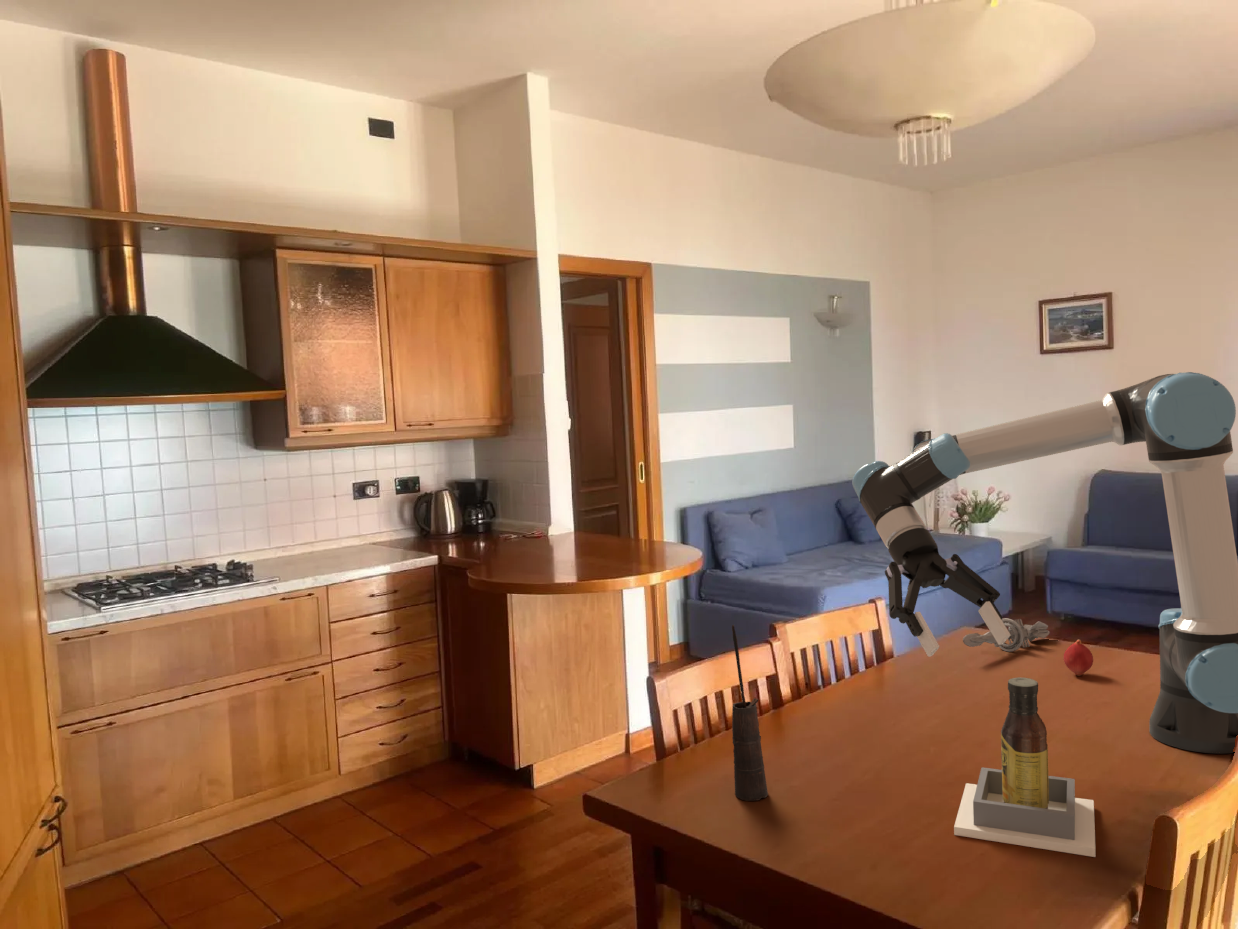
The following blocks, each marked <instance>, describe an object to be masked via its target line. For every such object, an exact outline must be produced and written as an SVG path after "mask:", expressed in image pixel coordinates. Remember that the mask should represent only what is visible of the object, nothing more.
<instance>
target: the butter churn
mask: <svg viewBox="0 0 1238 929" xmlns="http://www.w3.org/2000/svg"><path fill="white" fill-rule="evenodd" d="M735 629H736V627H735V624H732V625H731V631H732V639H733V641H732V642H733V646H734V653H735V660H736V667H737V675H738V682H739V683H738V684H739V689H740V695H741V701H739V702H736V703H735V702H733V703H732V712H731V714H732V715H731V716H732V718H731V720H732V722H731V723H732V726H731V729H732V739H731V740H732V744H733V749H732V750H733V770H734V772H733V774H734V795H735V797H736V798H738V799H740V800H741V801H746V802H748V801H760V800H761V799H763V798H766V797H767V796H768V795H769V791H768V784H767V779H766V772H765V770H766V769H765V765H764V756H763V751H762V742H761V740H762V736H761V735H760V733H761V732H760V724H759V718H758V708H757V703H758V701H759V698H752V700H751V701H746V697H745V689H744V683H743V674H742V669H741V663H740V662H741V661H740V660H741V659H740V652H739V645H738V638H737V634H736V632H737V631H736V630H735Z"/></svg>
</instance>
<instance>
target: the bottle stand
mask: <svg viewBox="0 0 1238 929" xmlns="http://www.w3.org/2000/svg"><path fill="white" fill-rule="evenodd" d="M1048 780H1049V804H1048V809H1045V808H1038V807H1031V806H1024V805H1017V804H1009V803H1004V800H1003V792H1002V769H997V768H989V767H983V766H982V767H981V769H980V771H979V776H978V781H977V784H975V783H967V782H966V783H965V786H964V790H963V792H962V793H963V794H962V796H961V801H960V804H959V808H958V811H957V815H956V818H955V822H954V826H953V833H954V834H953V835H954V836H957V837H958V836H960V837H967V838H972V839H979V840H985V841H990V842H991V841H992V842H997V843H998V842H999V843H1003V844H1008V845H1009V844H1010V845H1018V846H1023V847H1028V848H1030V847H1031V848H1035V849H1041V850H1042V849H1043V850H1049V851H1055V852H1061V853H1067V854H1074V855H1079V856H1086V857H1093V858H1096V830H1095V829H1096V828H1095V825H1096V824H1095V807H1094V806H1095V802H1094V799H1087V798H1080V797H1076V785H1075V782H1076V781H1075V780H1076V779H1075V778H1070V777H1069V778H1068V777H1064V776H1063V777H1062V776H1054V775H1048Z"/></svg>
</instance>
